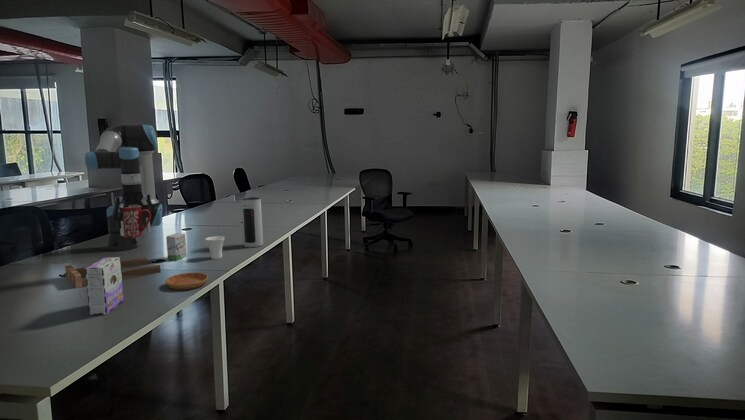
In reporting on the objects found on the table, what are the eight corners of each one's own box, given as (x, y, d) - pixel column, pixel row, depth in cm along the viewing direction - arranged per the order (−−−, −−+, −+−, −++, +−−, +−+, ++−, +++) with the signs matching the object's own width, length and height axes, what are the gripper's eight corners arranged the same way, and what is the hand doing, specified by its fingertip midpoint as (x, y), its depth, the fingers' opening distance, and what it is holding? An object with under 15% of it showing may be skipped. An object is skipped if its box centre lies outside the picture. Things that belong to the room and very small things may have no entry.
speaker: (239, 246, 256) (237, 198, 252) (251, 242, 266) (249, 196, 262) (255, 248, 252) (253, 199, 248) (267, 244, 262) (265, 196, 258)
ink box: (176, 260, 228) (174, 236, 226) (167, 260, 229) (165, 236, 227) (187, 256, 236) (185, 233, 234) (178, 256, 237) (176, 232, 235)
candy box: (107, 301, 173) (103, 257, 170) (124, 300, 173) (120, 256, 171) (88, 315, 159) (83, 267, 157) (107, 314, 160) (102, 267, 157)
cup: (229, 257, 234) (228, 237, 233) (212, 260, 227) (211, 240, 226) (220, 254, 240) (219, 234, 239) (203, 257, 233) (201, 237, 232)
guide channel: (66, 277, 202) (65, 265, 202) (145, 263, 224) (145, 252, 223) (76, 288, 188) (75, 275, 187) (160, 272, 209) (159, 261, 208)
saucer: (182, 294, 181) (182, 286, 180) (157, 287, 189) (156, 280, 189) (217, 283, 194) (216, 276, 194) (191, 277, 202) (191, 270, 202)
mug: (117, 238, 205) (115, 207, 203) (125, 234, 214) (123, 204, 212) (147, 238, 206) (146, 207, 204) (155, 234, 215) (153, 204, 213)
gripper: (104, 186, 196) (109, 239, 200) (161, 182, 211) (165, 231, 215) (100, 184, 201) (104, 236, 205) (156, 180, 216) (159, 229, 220)
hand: (135, 233), depth 210 cm, fingers closed on mug, 10 cm apart
